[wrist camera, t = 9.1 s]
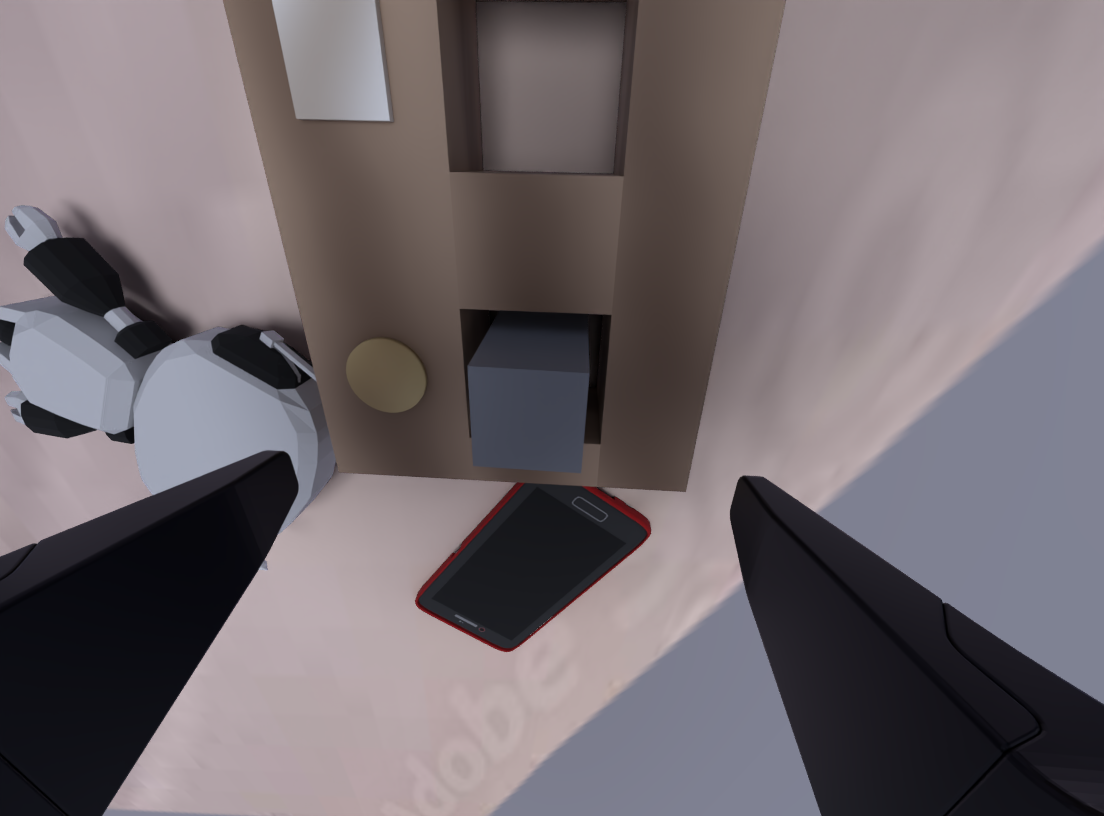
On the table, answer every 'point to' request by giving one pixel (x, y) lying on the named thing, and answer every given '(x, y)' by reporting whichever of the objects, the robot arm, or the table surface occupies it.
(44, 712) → the robot arm
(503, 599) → the cell phone
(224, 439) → the robot toy
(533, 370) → the plug
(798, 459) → the table surface
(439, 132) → the socket box
